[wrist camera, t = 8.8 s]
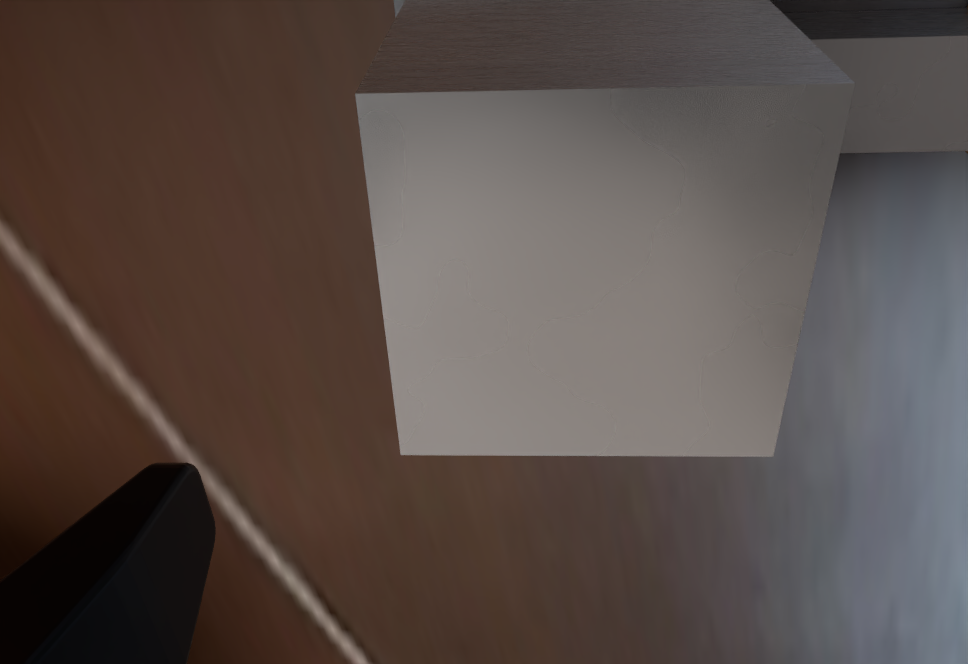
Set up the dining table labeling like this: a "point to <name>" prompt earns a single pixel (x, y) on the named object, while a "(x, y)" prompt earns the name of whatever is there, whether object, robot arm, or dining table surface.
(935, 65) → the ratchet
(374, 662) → the dining table surface
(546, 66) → the plain white cube
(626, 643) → the dining table surface
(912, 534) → the dining table surface
